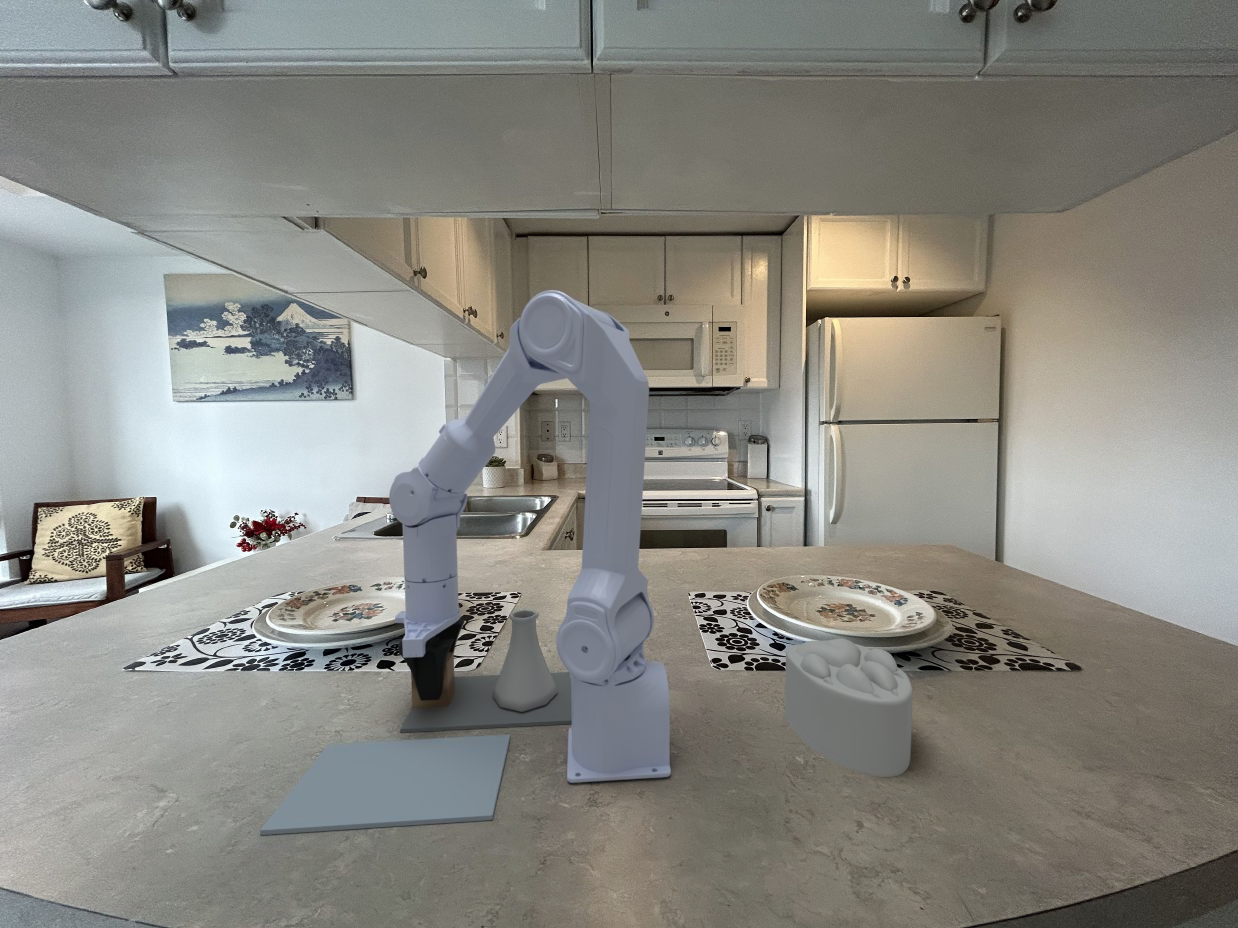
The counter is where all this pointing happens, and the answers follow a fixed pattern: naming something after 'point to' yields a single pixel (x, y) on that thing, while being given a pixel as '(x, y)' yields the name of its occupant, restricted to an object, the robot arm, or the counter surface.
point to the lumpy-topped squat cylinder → (850, 705)
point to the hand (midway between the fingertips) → (435, 690)
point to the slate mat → (395, 785)
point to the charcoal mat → (482, 705)
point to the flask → (524, 667)
